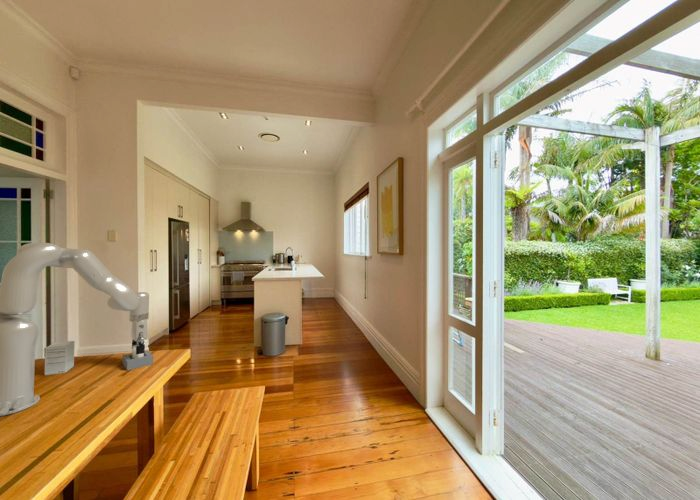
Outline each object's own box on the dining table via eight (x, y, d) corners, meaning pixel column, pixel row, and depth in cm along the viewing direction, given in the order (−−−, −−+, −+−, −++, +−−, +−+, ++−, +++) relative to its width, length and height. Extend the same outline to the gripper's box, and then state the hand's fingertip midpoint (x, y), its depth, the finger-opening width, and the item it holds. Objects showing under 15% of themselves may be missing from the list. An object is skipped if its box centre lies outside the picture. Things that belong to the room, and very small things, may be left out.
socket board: (153, 364, 132) (153, 356, 132) (127, 370, 124) (127, 362, 124) (147, 357, 139) (147, 350, 139) (122, 363, 132) (122, 355, 132)
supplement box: (53, 369, 124) (54, 342, 124) (74, 366, 127) (75, 340, 127) (43, 375, 117) (44, 347, 118) (65, 372, 121) (66, 345, 121)
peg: (143, 363, 132) (144, 345, 132) (133, 366, 129) (133, 347, 129) (141, 361, 135) (142, 343, 135) (131, 363, 132) (132, 345, 132)
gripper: (152, 318, 129) (151, 353, 129) (144, 313, 141) (143, 345, 140) (133, 321, 124) (132, 357, 123) (126, 315, 135) (125, 348, 135)
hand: (138, 351), depth 132 cm, fingers open, 9 cm apart
